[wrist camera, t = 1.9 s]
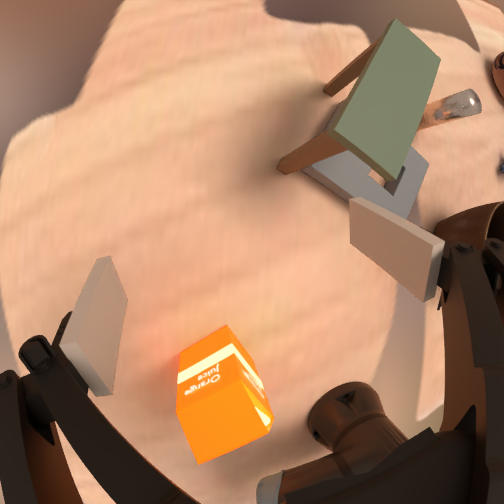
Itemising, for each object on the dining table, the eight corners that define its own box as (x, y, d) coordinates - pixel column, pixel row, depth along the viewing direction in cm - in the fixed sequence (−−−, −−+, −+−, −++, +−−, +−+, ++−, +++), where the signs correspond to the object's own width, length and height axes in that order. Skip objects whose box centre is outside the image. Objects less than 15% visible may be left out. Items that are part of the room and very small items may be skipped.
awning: (358, 105, 42) (440, 59, 22) (311, 192, 43) (396, 179, 22) (324, 80, 41) (395, 18, 20) (272, 166, 41) (334, 129, 21)
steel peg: (423, 120, 45) (482, 102, 29) (417, 135, 45) (479, 118, 29) (409, 107, 44) (468, 83, 28) (403, 121, 44) (465, 99, 28)
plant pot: (409, 219, 46) (477, 225, 31) (454, 189, 48) (514, 187, 32) (429, 289, 49) (488, 311, 34) (469, 252, 51) (525, 264, 35)
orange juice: (179, 352, 42) (172, 446, 23) (227, 324, 43) (249, 410, 23) (208, 385, 44) (218, 480, 25) (253, 359, 45) (287, 449, 25)
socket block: (415, 166, 45) (429, 163, 41) (385, 231, 46) (399, 233, 42) (339, 102, 41) (351, 94, 38) (301, 170, 42) (311, 166, 38)
